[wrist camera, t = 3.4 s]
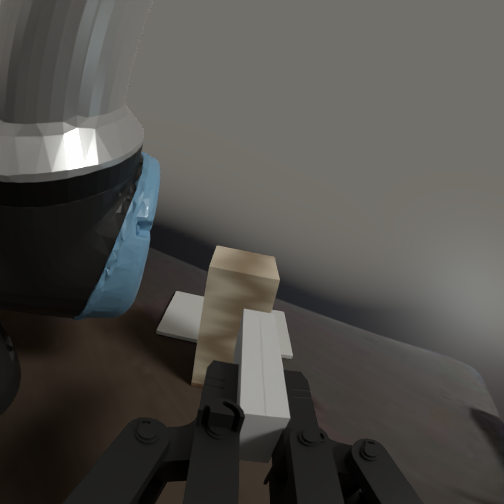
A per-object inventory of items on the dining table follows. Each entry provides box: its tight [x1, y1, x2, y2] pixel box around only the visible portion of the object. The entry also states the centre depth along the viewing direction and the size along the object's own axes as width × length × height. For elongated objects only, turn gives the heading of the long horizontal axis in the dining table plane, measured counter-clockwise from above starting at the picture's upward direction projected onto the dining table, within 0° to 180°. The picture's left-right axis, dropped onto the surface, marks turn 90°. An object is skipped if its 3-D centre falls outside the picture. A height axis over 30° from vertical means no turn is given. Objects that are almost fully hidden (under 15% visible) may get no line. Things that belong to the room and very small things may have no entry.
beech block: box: [191, 246, 280, 388], centre depth 30 cm, size 6×6×14 cm
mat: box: [156, 291, 293, 359], centre depth 42 cm, size 18×12×1 cm, turn 90°
